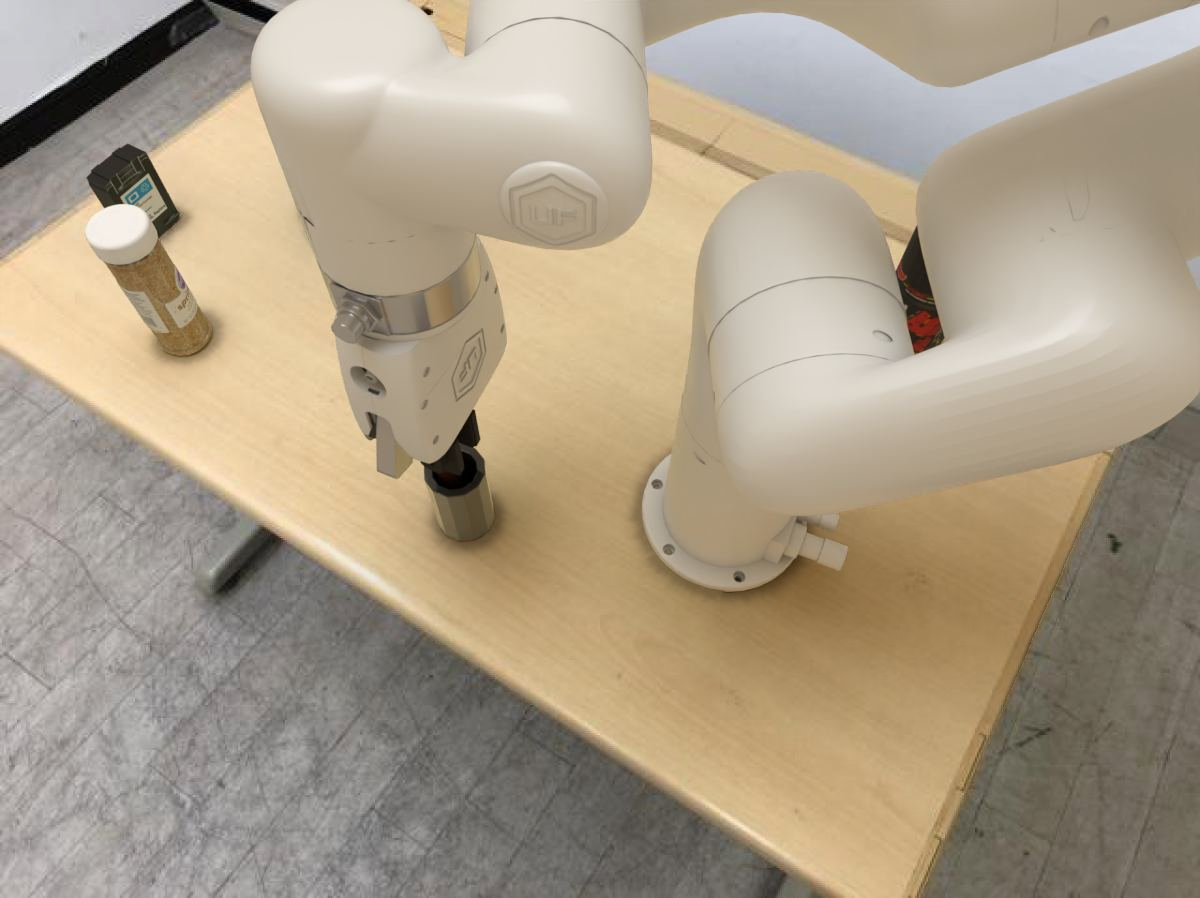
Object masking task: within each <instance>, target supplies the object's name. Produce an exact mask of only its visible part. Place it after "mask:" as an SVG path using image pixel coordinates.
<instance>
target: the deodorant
mask: <svg viewBox="0 0 1200 898" xmlns="http://www.w3.org/2000/svg"><path fill="white" fill-rule="evenodd" d="M895 272H896V276H897V280H898V284H899V288H900V292H901V296H902V300H903V304H904V308H905V311H906V316H907V326H908V330H909V334H910V338H911V342H912V346H913V350H914V355H916V354H918V353H921V352H923V351H926V350H928V349H931V348H933V347H936V346H938V345H940V344H942V343H943V342H944V340H945V338H944V334H943V330H942V327H941V323H940V319H939V316H938V312H937V308H936V304H935V301H934V297H933V293H932V289H931V286H930V282H929V278H928V274H927V270H926V266H925V262H924V258H923V254H922V249H921V245H920V240H919V234H918V227H917V225H916V226H915V228H914V230H913V232H912V235H911V237H910V238H909V241H908V243H907V245H906V247H905V249H904V251H903V254H902V256H901V258H900V261H899V263H898V265H897V267H896V268H895Z"/></svg>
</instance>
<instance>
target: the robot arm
mask: <svg viewBox="0 0 1200 898" xmlns="http://www.w3.org/2000/svg"><path fill="white" fill-rule="evenodd" d="M1197 5H1200V0H469V6H468V14H467V20H466V28H465V29H466V30H465V39H464V53H463V54H464V55H463V56H458V55H454V54H453V53H452V52H451V51H450V48H449V47H448V44H447V42H446V39H445V38H444V35H443V33H442V32H441V30H440V28H439V27H438V25H437V24H436V23H435V21H433V19H432V18H431V17H430V15H428V14H427V13H426V12H425V11H424V10H423V9H422V8H420V7H419V6H417V5H416V4H415V3H413V2H412V1H410V0H294V1H293V2H291V3H290V4H288V5H287V6H285V7H284V8H282V9H281V10H280V11H278V12H277V13H276V14H275V15H273V16H272V17H271V18H270V19H269V20H268V21H267V22H266V23H265V25H264V26H263V27H262V29H261V31H260V32H259V34H258V36H257V37H256V40H255V43H254V45H253V49H252V52H251V56H250V80H251V81H250V82H251V85H252V90H253V94H254V97H255V100H256V103H257V106H258V109H259V111H260V115H261V117H262V119H263V122H264V125H265V127H266V131H267V133H268V135H269V138H270V142H271V144H272V146H273V149H274V151H275V155H276V156H277V160H278V162H279V165H280V168H281V170H282V173H283V175H284V178H285V181H286V184H287V186H288V189H289V191H290V195H291V197H292V199H293V202H294V205H295V208H296V210H297V212H298V213H297V214H298V216H299V218H300V220H301V223H302V226H303V229H304V231H305V234H306V237H307V239H308V241H309V245H310V247H311V250H312V252H313V255H314V258H315V260H316V263H317V265H318V268H319V272H320V273H321V276H322V278H323V281H324V284H325V287H326V289H327V292H328V295H329V298H330V300H331V302H332V305H333V307H334V310H335V312H336V313H335V316H334V318H333V322H332V323H331V324H330V325H331V326H330V329H331V332H332V333H333V334H334V338H335V347H336V353H337V359H338V360H337V361H338V365H339V369H340V374H341V378H342V381H343V386H344V390H345V394H346V396H347V400H348V403H349V406H350V409H351V411H352V414H353V417H354V420H355V421H356V423H357V426H358V427H359V429H360V432H361V433H362V435H363V436H364V437H365V438H366V439H367V441H372V440H374V439H376V441H375V442H376V444H375V445H376V446H375V449H376V450H375V451H376V472H377V473H379V474H382V475H385V476H387V477H390V478H392V479H394V480H398V479H400V478H401V477H402V476H403V474H404V473H405V472H406V471H407V470H408V469H409V468H410V467H411V465H412V464H413V463H414V461H413V460H416V461H419V462H420V464H421V465H422V466H423V468H424V467H426V468H427V469H430V470H432V471H435V472H437V473H442V472H443V471H444V470H446V471H448V472H451V473H454V474H456V475H461V473H462V471H463V470H464V462H463V458H462V454H461V449H460V445H459V443H461V444H463V445H466V446H469V447H471V448H475V447H478V445H479V444H480V441H481V435H480V430H479V429H480V428H479V423H478V419H477V413H476V410H475V407H476V405H477V404H478V401H479V400H480V398H481V397H482V395H483V393H484V391H485V389H486V388H487V386H488V384H489V383H490V380H491V379H492V378H493V376H494V374H495V372H496V369H497V368H498V367H499V365H500V362H501V361H502V359H503V356H504V354H505V351H506V348H507V343H508V335H507V326H506V319H505V312H504V308H503V301H502V297H501V293H500V289H499V284H498V281H497V280H498V279H497V276H496V273H495V270H494V268H493V264H492V262H491V259H490V257H489V254H488V251H487V250H486V248H485V246H484V245H483V243H482V241H481V239H480V237H479V236H483V237H488V238H492V239H495V240H498V241H499V240H500V241H504V242H508V243H513V244H517V245H522V246H526V247H532V248H536V249H544V250H553V251H554V250H555V251H580V250H581V251H582V250H587V249H592V248H598V247H600V246H604V245H606V244H609V243H612V242H614V241H615V240H617V239H618V238H620V237H622V236H623V235H624V234H626V233H627V232H628V231H629V230H630V229H631V228H632V227H633V226H635V224H636V223H637V221H638V220H639V219H640V218H641V215H642V214H643V212H644V210H645V208H646V205H647V203H648V200H649V198H650V193H651V188H652V182H653V163H654V162H653V146H652V136H651V135H652V133H651V122H650V121H651V120H650V109H649V86H648V85H649V84H648V71H647V59H646V57H647V56H646V48H647V47H649V46H652V45H654V44H657V43H659V42H662V41H664V40H666V39H668V38H670V37H673V36H675V35H678V34H681V33H683V32H685V31H688V30H691V29H694V28H695V27H696V28H697V27H698V26H701V25H704V24H707V23H711V22H714V21H716V20H720V19H725V18H731V17H733V16H734V17H735V16H739V15H749V14H758V13H759V14H760V13H766V14H785V15H791V16H795V17H796V16H797V17H802V18H806V19H808V20H812V21H814V22H818V23H821V24H823V25H825V26H828V27H830V28H831V29H834V30H836V31H838V32H840V33H842V34H843V35H845V36H846V37H848V38H850V39H851V40H853V41H854V42H856V43H858V44H859V45H862V46H863V47H864V48H867V49H868V50H870V51H871V52H873V53H874V54H876V55H878V56H879V57H881V58H882V59H884V60H886V61H887V62H888V63H891V64H892V65H894V66H895V67H896V68H898V69H900V70H901V71H902V72H903V73H906V74H907V75H909V76H911V77H912V78H914V79H916V80H917V81H919V82H921V83H923V84H924V83H925V84H927V85H930V86H934V87H937V88H957V87H961V86H966V85H968V84H972V83H974V82H977V81H980V80H982V79H985V78H989V77H991V76H994V75H996V74H999V73H1001V72H1003V71H1006V70H1009V69H1013V68H1016V67H1019V66H1021V65H1025V64H1027V63H1030V62H1033V61H1036V60H1039V59H1041V58H1045V57H1047V56H1049V55H1052V54H1055V53H1057V52H1061V51H1063V50H1067V49H1069V48H1072V47H1075V46H1078V45H1082V44H1084V43H1087V42H1089V41H1092V40H1095V39H1098V38H1101V37H1104V36H1107V35H1110V34H1113V33H1116V32H1118V31H1122V30H1125V29H1127V28H1130V27H1133V26H1136V25H1140V24H1142V23H1145V22H1148V21H1151V20H1153V19H1157V18H1160V17H1163V16H1165V15H1168V14H1171V13H1174V12H1177V11H1181V10H1185V9H1188V8H1190V7H1193V6H1197ZM915 219H916V226H917V227H918V234H919V240H920V245H921V249H922V254H923V258H924V262H925V266H926V270H927V274H928V278H929V282H930V286H931V289H932V293H933V297H934V301H935V304H936V308H937V312H938V316H939V319H940V323H941V327H942V330H943V334H944V341H945V342H944V341H943V342H942V343H941V344H940V345H938V346H936V347H933V348H931V349H928V350H926V351H923V352H921V353H918V354H916V355H914V350H913V346H912V342H911V338H910V334H909V330H908V326H907V316H906V311H905V308H904V304H903V300H902V296H901V292H900V288H899V284H898V280H897V276H896V272H895V271H896V268H895V264H894V260H893V257H892V253H891V249H890V247H889V243H888V240H887V238H886V236H885V231H884V230H883V228H882V226H881V223H880V221H879V219H878V218H877V216H876V214H875V212H874V210H873V209H872V208H871V206H870V204H868V202H867V201H866V200H865V198H864V197H863V196H862V195H861V194H860V193H859V192H858V191H856V190H855V189H854V188H853V187H852V186H850V185H849V184H848V183H846V182H845V181H842V180H841V179H838V178H837V177H835V176H833V175H830V174H827V173H824V172H820V171H815V170H803V169H795V170H784V171H780V172H774V173H771V174H769V175H766V176H762V177H761V178H759V179H756V180H754V181H752V182H750V183H749V184H748V185H746V186H745V187H743V188H742V189H740V190H739V191H738V192H736V194H734V195H733V196H732V197H731V198H729V200H728V201H727V202H726V203H725V204H723V206H722V207H721V209H720V210H719V211H718V213H717V214H716V215H715V217H714V218H713V219H712V222H711V223H710V225H709V227H708V229H707V231H706V233H705V236H704V238H703V241H702V243H701V247H700V250H699V253H698V258H697V264H696V269H695V277H694V279H695V280H694V290H693V302H692V303H693V305H692V320H691V321H692V322H691V333H690V335H691V336H690V345H689V354H688V362H687V369H686V375H685V381H684V386H683V390H682V394H681V399H680V405H679V409H678V415H677V421H676V426H675V432H674V438H673V442H672V448H671V453H670V454H668V455H666V456H665V457H664V458H663V459H662V460H661V461H660V462H659V463H658V464H657V465H656V467H654V470H653V471H652V472H651V474H650V476H649V477H648V479H647V482H646V485H645V487H644V490H643V495H642V501H641V520H642V526H643V530H644V532H645V535H646V538H647V541H648V543H649V544H650V546H651V548H652V550H653V551H654V553H655V554H656V556H657V557H658V558H659V559H660V560H661V561H662V563H664V564H665V566H666V567H667V568H669V569H670V570H671V571H672V572H673V573H675V574H676V575H678V576H680V578H682V579H684V580H686V581H689V582H691V583H693V584H695V585H698V586H701V587H704V588H707V589H712V590H718V591H719V590H720V591H722V592H727V593H729V592H744V591H747V590H752V589H755V588H760V587H761V586H763V585H766V584H767V583H769V582H772V581H774V580H775V579H776V578H778V577H779V576H780V575H782V573H784V572H785V571H786V569H787V568H788V567H789V566H790V565H791V564H792V563H793V562H794V560H796V559H797V558H798V556H801V557H804V558H806V559H809V560H811V561H814V562H815V563H817V564H819V565H822V566H825V567H827V568H830V569H833V570H836V571H838V572H840V571H841V569H842V568H843V565H844V563H845V561H846V559H847V555H848V552H849V546H848V545H845V544H843V543H840V542H838V541H835V540H833V539H830V538H827V537H824V538H823V537H820V536H818V535H815V534H813V533H810V532H808V531H807V530H808V525H807V524H808V523H809V524H811V525H814V526H816V527H817V528H820V529H822V530H825V531H827V532H831V533H834V532H835V531H836V529H837V526H838V524H839V521H840V518H841V515H840V514H839V513H845V512H851V511H856V510H861V509H866V508H870V507H875V506H879V505H884V504H889V503H893V502H897V501H903V500H907V499H910V498H915V497H919V496H924V495H930V494H933V493H937V492H942V491H946V490H952V489H955V488H960V487H964V486H969V485H973V484H977V483H978V484H979V483H982V482H987V481H990V480H996V479H1001V478H1005V477H1009V476H1013V475H1019V474H1022V473H1027V472H1030V471H1031V472H1032V471H1035V470H1040V469H1045V468H1049V467H1052V466H1057V465H1061V464H1065V463H1069V462H1072V461H1076V460H1081V459H1083V458H1087V457H1088V458H1089V457H1091V456H1094V455H1095V456H1096V455H1097V454H1101V453H1104V452H1107V451H1110V450H1113V449H1116V448H1119V447H1121V446H1124V445H1125V444H1127V443H1130V442H1132V441H1134V440H1137V439H1139V438H1141V437H1144V436H1145V435H1147V434H1149V433H1150V432H1152V431H1153V430H1155V429H1157V428H1159V427H1160V426H1162V425H1164V424H1165V423H1168V422H1169V421H1170V420H1171V419H1173V418H1175V417H1176V416H1178V415H1179V414H1180V413H1181V412H1182V411H1183V410H1184V409H1186V408H1187V407H1188V406H1189V404H1190V403H1192V402H1193V401H1194V400H1195V399H1196V397H1197V396H1198V395H1199V393H1200V289H1199V287H1198V285H1197V283H1196V281H1195V278H1194V276H1193V274H1192V272H1191V270H1190V267H1189V265H1188V263H1187V262H1188V261H1192V260H1195V259H1197V258H1199V257H1200V45H1197V46H1194V47H1193V48H1190V49H1188V50H1186V51H1183V52H1181V53H1179V54H1177V55H1174V56H1172V57H1168V58H1166V59H1164V60H1162V61H1159V62H1156V63H1154V64H1151V65H1148V66H1145V67H1142V68H1141V69H1137V70H1135V71H1132V72H1130V73H1126V74H1125V75H1121V76H1119V77H1116V78H1113V79H1111V80H1108V81H1106V82H1103V83H1100V84H1097V85H1095V86H1093V87H1088V88H1087V89H1084V90H1081V91H1079V92H1076V93H1073V94H1070V95H1068V96H1066V97H1062V98H1060V99H1058V100H1055V101H1052V102H1049V103H1046V104H1044V105H1041V106H1038V107H1036V108H1032V109H1030V110H1028V111H1025V112H1022V113H1020V114H1017V115H1015V116H1012V117H1009V118H1007V119H1005V120H1002V121H999V122H997V123H994V124H993V125H989V126H988V127H985V128H983V129H980V130H978V131H977V132H974V133H973V134H971V135H969V136H967V137H965V138H963V139H961V140H960V141H957V142H956V143H954V144H952V145H951V146H949V147H948V148H946V149H944V150H943V151H942V152H941V153H940V154H939V155H937V156H936V157H935V158H934V160H933V161H932V162H931V163H930V165H928V167H927V168H926V170H925V171H924V172H923V175H922V177H921V179H920V182H919V185H918V188H917V190H916V197H915ZM478 235H479V236H478ZM655 486H658V487H659V488H655ZM667 550H669V551H671V554H667V553H666V551H667ZM736 579H739V581H737V580H736Z"/></svg>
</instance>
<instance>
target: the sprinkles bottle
mask: <svg viewBox="0 0 1200 898" xmlns="http://www.w3.org/2000/svg"><path fill="white" fill-rule="evenodd" d="M84 237H85V241H86V242H87V243H88V246H89V247H90V248H91V250H92V251H93V253H94V254H95V256H96V257H97V258H98V259H99V260H100V261H102V262H103V263H104V264H105V265H106V267H107V268H108V270H109V271H110V273H111V274H112V276H113V277H114V279H115V281H116V283H117V285H118V286H119V287H120V289H121V290H122V292H123V293H124V295H125V296H126V298H127V299H128V301H129V302H130V304H131V305H132V307H133V308H134V310H135V311H136V313H137V314H138V316H139V317H140V318H141V320H142V321H143V322H144V324H145V326H147V327H148V329H149V330H150V331H151V332H152V334H153V335H154V336H155V338H156V339H157V343H158V344H159V347H160V348H161V349H162V350H163V351H164V352H166V353H168V354H169V355H172V356H178V357H182V356H189V355H193V354H195V353H196V352H198V351H200V350H201V349H203V348H204V347H206V345H207V343H209V341H210V339H211V338H212V337H211V336H212V334H213V326H212V323H211V322H210V320H209V319H208V318H207V317H206V316H205V314H204V313H203V311H202V310H201V309H202V308H201V307H200V306H199V304H198V303H197V299H196V298H195V296H194V294H193V292H192V291H191V289H190V287H189V286H188V284H187V283H186V281H185V279H184V278H183V275H182V274H181V273H180V271H179V269H178V268H177V267H178V266H176V264H175V263H174V262H173V261H172V258H171V257H170V256H169V253H168V252H167V250H166V249H165V247H164V245H163V244H162V242H161V240H160V238H158V234H157V230H156V228H155V227H154V225H153V223H152V221H151V220H150V218H149V217H148V215H147V214H146V212H145V211H143V210H142V209H141V208H139V207H137V206H134V205H129V204H118V205H113V206H109V207H106V208H104V207H103V208H102V209H100V210H98V211H97V212H96V213H94V214H93V215H92V216H91V217H90V218H89V220H88V222H87V223H86V225H85V227H84Z"/></svg>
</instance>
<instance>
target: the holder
mask: <svg viewBox="0 0 1200 898" xmlns="http://www.w3.org/2000/svg"><path fill="white" fill-rule="evenodd" d="M459 445H460V449H461V454H462V458H463V462H464V470H463V471H462V473H461V474H462V477H463V480H464V482H465V485H466V486H465V487H463V488H461V489H452V490H449V489H447V488H444V487H442V486H441V484H440V481H439V479H438V477H437V474H436V472H435V471H432V470H430V469H427V468H426V467H424V466H423V479H424V483H425V486H426V489H427V493H428V495H429V498H430V501H431V505H432V508H433V511H434V514H435V517H436V520H437V523H438V526H439V528H440V529H441V530H442V532H443V533H444V534H445V536H446V537H449V538H450V539H452V540H456V541H458V542H471V541H475V540H477V539H479V538H481V537H483V536H484V535H485V534H486V533H488V532H489V530H490V529H491V528H492V525H493V523H494V521H495V510H494V503H493V502H494V501H493V497H492V492H491V486H490V481H489V476H488V475H489V474H488V470H487V466H486V460H485V458H484V457H483V455H482V454H481V453H480V452H479V451H478V450H477V448H475V447H474V448H471V447H469V446H466V445H463V444H461V443H459Z"/></svg>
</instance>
